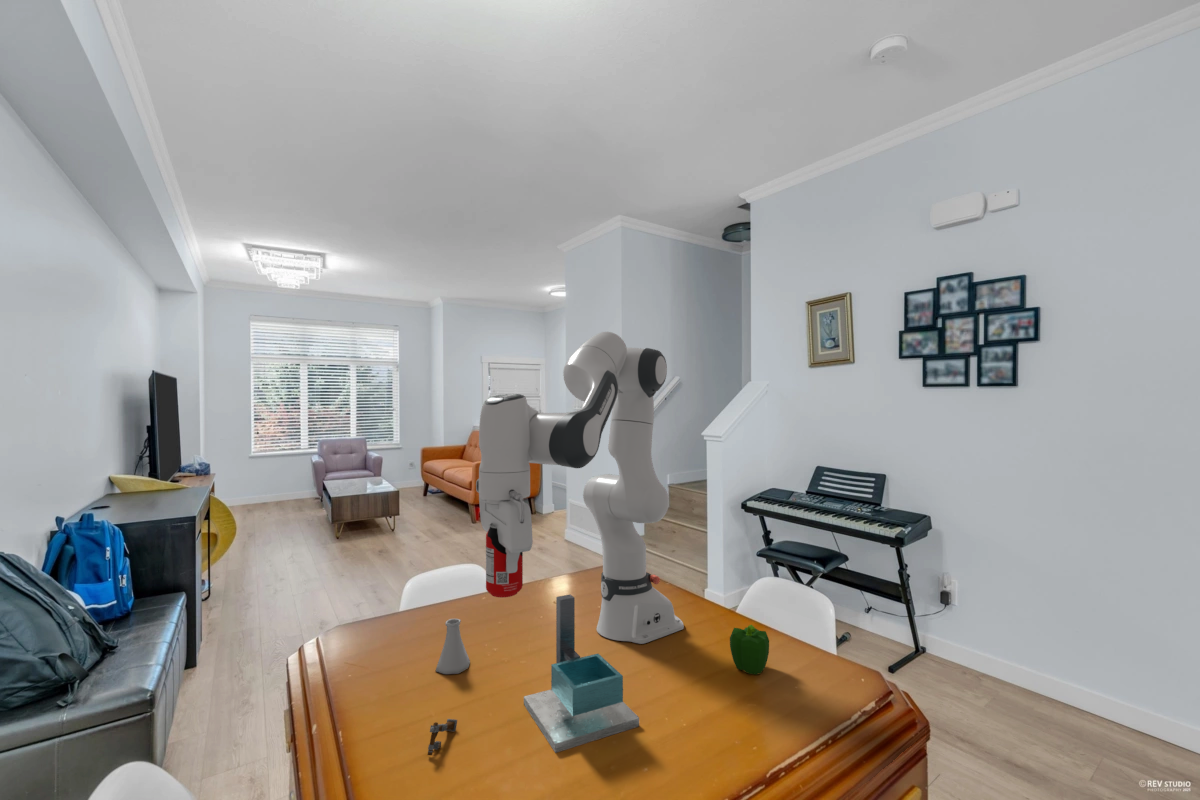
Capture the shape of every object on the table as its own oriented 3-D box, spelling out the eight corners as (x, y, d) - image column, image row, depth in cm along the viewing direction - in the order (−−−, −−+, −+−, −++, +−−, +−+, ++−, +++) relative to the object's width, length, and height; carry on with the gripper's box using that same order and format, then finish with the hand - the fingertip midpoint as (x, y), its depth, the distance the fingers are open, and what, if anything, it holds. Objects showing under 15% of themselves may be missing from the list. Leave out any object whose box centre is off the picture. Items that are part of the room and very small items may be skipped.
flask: (460, 677, 111) (460, 629, 112) (429, 673, 113) (429, 626, 113) (475, 661, 118) (475, 616, 119) (445, 658, 120) (446, 613, 120)
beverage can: (520, 598, 90) (520, 527, 90) (483, 599, 89) (483, 528, 90) (523, 586, 96) (524, 520, 96) (488, 587, 96) (488, 520, 96)
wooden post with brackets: (421, 755, 85) (427, 722, 87) (443, 747, 92) (448, 717, 94) (431, 756, 85) (437, 724, 87) (452, 748, 92) (457, 718, 94)
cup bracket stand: (598, 684, 108) (598, 588, 109) (639, 726, 94) (638, 615, 94) (523, 704, 101) (523, 601, 101) (555, 752, 87) (555, 632, 87)
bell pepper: (731, 657, 120) (731, 613, 120) (769, 663, 117) (769, 617, 117) (727, 675, 112) (727, 627, 112) (768, 681, 109) (768, 632, 110)
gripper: (542, 493, 85) (542, 580, 85) (506, 478, 103) (506, 549, 103) (503, 497, 82) (503, 586, 82) (473, 480, 101) (473, 553, 100)
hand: (504, 565), depth 93 cm, fingers closed on beverage can, 6 cm apart
